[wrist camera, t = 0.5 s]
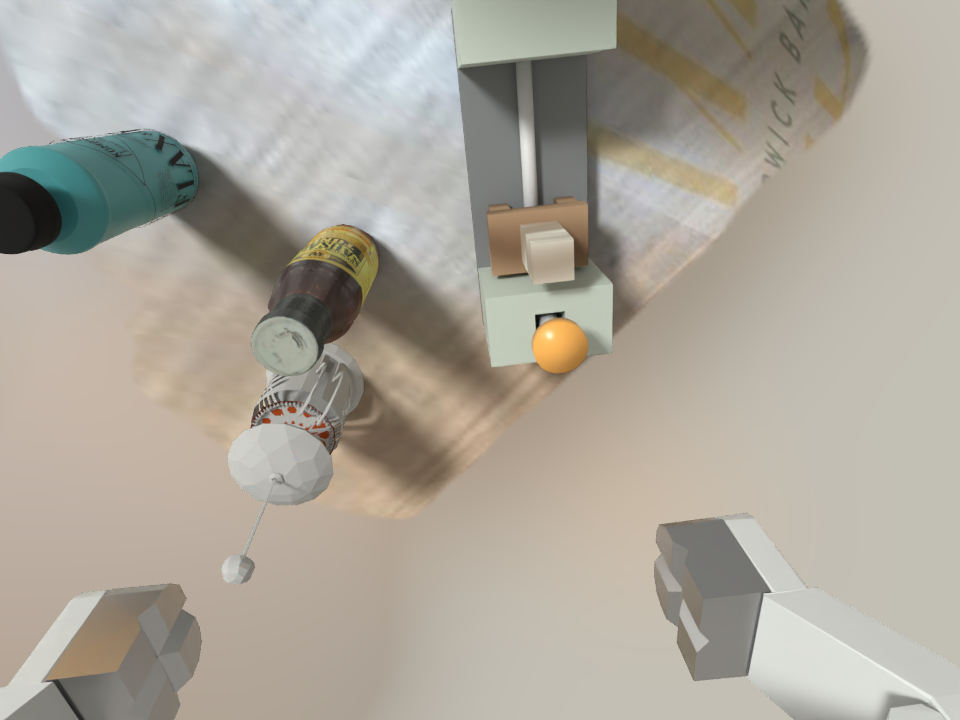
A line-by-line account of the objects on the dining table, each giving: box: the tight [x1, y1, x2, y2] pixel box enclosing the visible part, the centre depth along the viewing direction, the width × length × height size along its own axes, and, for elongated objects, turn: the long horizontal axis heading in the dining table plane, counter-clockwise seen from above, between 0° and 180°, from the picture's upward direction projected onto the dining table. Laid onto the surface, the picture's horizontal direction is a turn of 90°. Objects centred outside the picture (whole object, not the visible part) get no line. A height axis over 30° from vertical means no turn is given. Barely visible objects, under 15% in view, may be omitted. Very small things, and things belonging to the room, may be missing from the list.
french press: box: [222, 343, 364, 584], centre depth 44 cm, size 10×12×25 cm
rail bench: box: [451, 0, 617, 367], centre depth 44 cm, size 26×10×10 cm, turn 6°
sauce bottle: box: [251, 224, 379, 376], centre depth 41 cm, size 7×6×20 cm
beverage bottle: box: [0, 129, 199, 254], centre depth 37 cm, size 6×7×20 cm
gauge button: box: [531, 312, 588, 374], centre depth 43 cm, size 4×4×6 cm
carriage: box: [486, 196, 588, 285], centre depth 44 cm, size 5×8×10 cm, turn 96°
